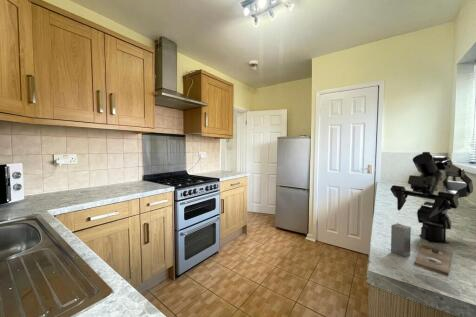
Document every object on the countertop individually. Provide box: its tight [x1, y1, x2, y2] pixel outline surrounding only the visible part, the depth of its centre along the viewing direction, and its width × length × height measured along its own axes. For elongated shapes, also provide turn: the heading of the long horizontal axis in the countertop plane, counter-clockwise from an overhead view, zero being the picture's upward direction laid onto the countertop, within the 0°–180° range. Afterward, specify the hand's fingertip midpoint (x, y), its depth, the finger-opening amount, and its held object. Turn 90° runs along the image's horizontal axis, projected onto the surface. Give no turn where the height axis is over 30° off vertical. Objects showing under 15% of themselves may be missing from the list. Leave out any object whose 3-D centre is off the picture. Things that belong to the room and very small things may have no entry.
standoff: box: [390, 222, 412, 258], centre depth 70 cm, size 4×4×10 cm
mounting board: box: [413, 243, 453, 276], centre depth 66 cm, size 18×8×2 cm, turn 130°
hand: (412, 213), depth 73 cm, fingers open, 9 cm apart
